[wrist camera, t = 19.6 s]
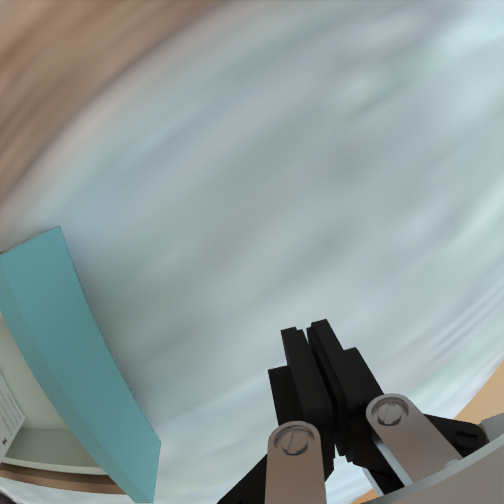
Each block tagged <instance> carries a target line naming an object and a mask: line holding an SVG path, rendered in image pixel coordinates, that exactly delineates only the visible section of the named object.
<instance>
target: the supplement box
mask: <svg viewBox="0 0 504 504" xmlns="http://www.w3.org/2000/svg"><path fill="white" fill-rule="evenodd" d="M24 421H25V416H24V415H23V413H22V412H21V410H20V409H19V407H18V405H17V403H16V402H15V400H14V398H13V396H12V394H11V392H10V391H9V389H8V387H7V385H6V383H5V381H4V378H3V376H2V374H1V372H0V464H1V462H2V460H3V458H4V456H5V454H6V453H7V451H8V449H9V447H10V445H11V443H12V442H13V440H14V438H15V436H16V434H17V433H18V431H19V429H20V427H21V426H22V424H23V422H24Z"/></svg>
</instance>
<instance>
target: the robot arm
mask: <svg viewBox="0 0 504 504" xmlns="http://www.w3.org/2000/svg"><path fill="white" fill-rule="evenodd" d="M281 335H282V340H283V345H284V350H285V355H286V360H287V366H282V367H278V368H274V369H269V370H268V374H269V379H270V384H271V389H272V395H273V400H274V405H275V410H276V415H277V420H278V425H279V427H277V428H276V429H275V430H274V431H273V432H272V433H271V435H270V436H269V440H268V451H267V454H266V455H265V456H264V457H263V458H262V459H261V460H260V461H259V462H258V463H257V464H256V466H255V467H254V468H253V469H252V470H251V471H250V472H249V473H248V474H247V475H246V476H245V477H244V478H243V479H242V480H240V481H239V482H238V483H237V484H236V485H235V486H234V487H233V488H232V489H231V490H230V491H229V492H228V493H227V494H226V495H225V496H224V497H222V498H221V499H220V500H219V501H218V503H217V504H327V502H326V489H325V481H326V480H327V479H328V477H329V476H330V475H331V473H332V472H333V470H334V462H333V459H334V458H335V445H336V448H337V451H338V454H339V456H340V457H341V456H344V455H345V457H346V459H347V462H348V463H349V462H353V464H354V465H357V466H360V467H362V469H363V472H364V474H365V475H366V477H367V478H368V480H369V482H370V483H371V485H372V486H373V488H374V489H375V491H376V493H377V494H378V496H379V497H378V498H376V499H373V500H370V501H367V502H364V503H361V504H504V413H501V414H499V415H496V416H493V417H490V418H488V419H484V420H482V421H481V423H480V424H478V425H476V424H472V423H469V422H463V421H457V420H452V419H447V418H442V417H437V416H432V415H427V414H423V413H422V412H421V411H420V410H419V409H418V408H417V407H416V406H415V405H414V404H413V403H412V402H411V401H410V400H409V399H408V398H407V397H405V396H403V395H400V394H394V393H390V394H384V393H383V391H382V390H381V388H380V386H379V384H378V383H377V381H376V379H375V378H374V376H373V374H372V373H371V371H370V369H369V368H368V366H367V364H366V363H365V361H364V359H363V358H362V356H361V354H360V353H359V351H358V350H357V348H355V347H354V348H350V349H347V350H343V348H342V346H341V344H340V343H339V341H338V339H337V337H336V335H335V333H334V332H333V330H332V328H331V326H330V324H329V323H328V321H327V319H324V320H320V321H316V322H312V323H311V327H308V328H307V337H308V342H307V339H306V337H305V335H304V332H303V330H302V329H300V330H297V329H296V327H292V328H288V329H284V330H281Z"/></svg>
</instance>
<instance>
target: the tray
mask: <svg viewBox="0 0 504 504" xmlns="http://www.w3.org/2000/svg"><path fill="white" fill-rule="evenodd" d="M0 372H1V374H2V376H3V378H4V381H5V383H6V385H7V387H8V389H9V391H10V392H11V394H12V396H13V398H14V400H15V402H16V403H17V405H18V407H19V409H20V410H21V412H22V413H23V415H24V416H25V421H24V422H23V424H22V426H21V427H20V429H19V431H18V433H17V434H16V436H15V438H14V440H13V442H12V443H11V445H10V447H9V449H8V451H7V453H6V454H5V456H4V458H3V460H2V462H3V463H8V464H13V465H18V466H24V467H30V468H36V469H43V470H50V471H59V472H69V473H81V474H98V475H109V477H110V478H111V479H112V480H113V481H114V482H115V483H116V484H117V485H118V486H119V487H120V488H121V489H122V490H123V491H124V492H125V493H126V494H127V495H128V496H129V497H130V498H131V499H132V500H133V501H134V502H135V503H153V502H154V493H155V484H156V476H157V468H158V461H159V453H160V446H161V441H160V439H159V438H158V436H157V435H156V433H155V432H154V430H153V428H152V427H151V425H150V424H149V422H148V420H147V419H146V417H145V415H144V414H143V412H142V410H141V409H140V407H139V405H138V404H137V402H136V400H135V398H134V397H133V395H132V393H131V391H130V390H129V388H128V386H127V384H126V382H125V380H124V379H123V377H122V375H121V373H120V371H119V369H118V367H117V365H116V363H115V361H114V359H113V357H112V355H111V353H110V351H109V349H108V347H107V345H106V343H105V341H104V339H103V337H102V335H101V332H100V330H99V328H98V326H97V324H96V321H95V319H94V317H93V314H92V312H91V310H90V307H89V305H88V303H87V300H86V298H85V295H84V293H83V290H82V288H81V285H80V283H79V280H78V277H77V275H76V272H75V269H74V266H73V264H72V261H71V258H70V255H69V252H68V249H67V246H66V243H65V240H64V237H63V234H62V230H61V227H60V226H57V227H54V228H52V229H49V230H46V231H44V232H41V233H39V234H37V235H35V236H33V237H31V238H29V239H27V240H25V241H23V242H21V243H19V244H17V245H15V246H14V247H12V248H10V249H8V250H6V251H4V252H2V253H0Z"/></svg>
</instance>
